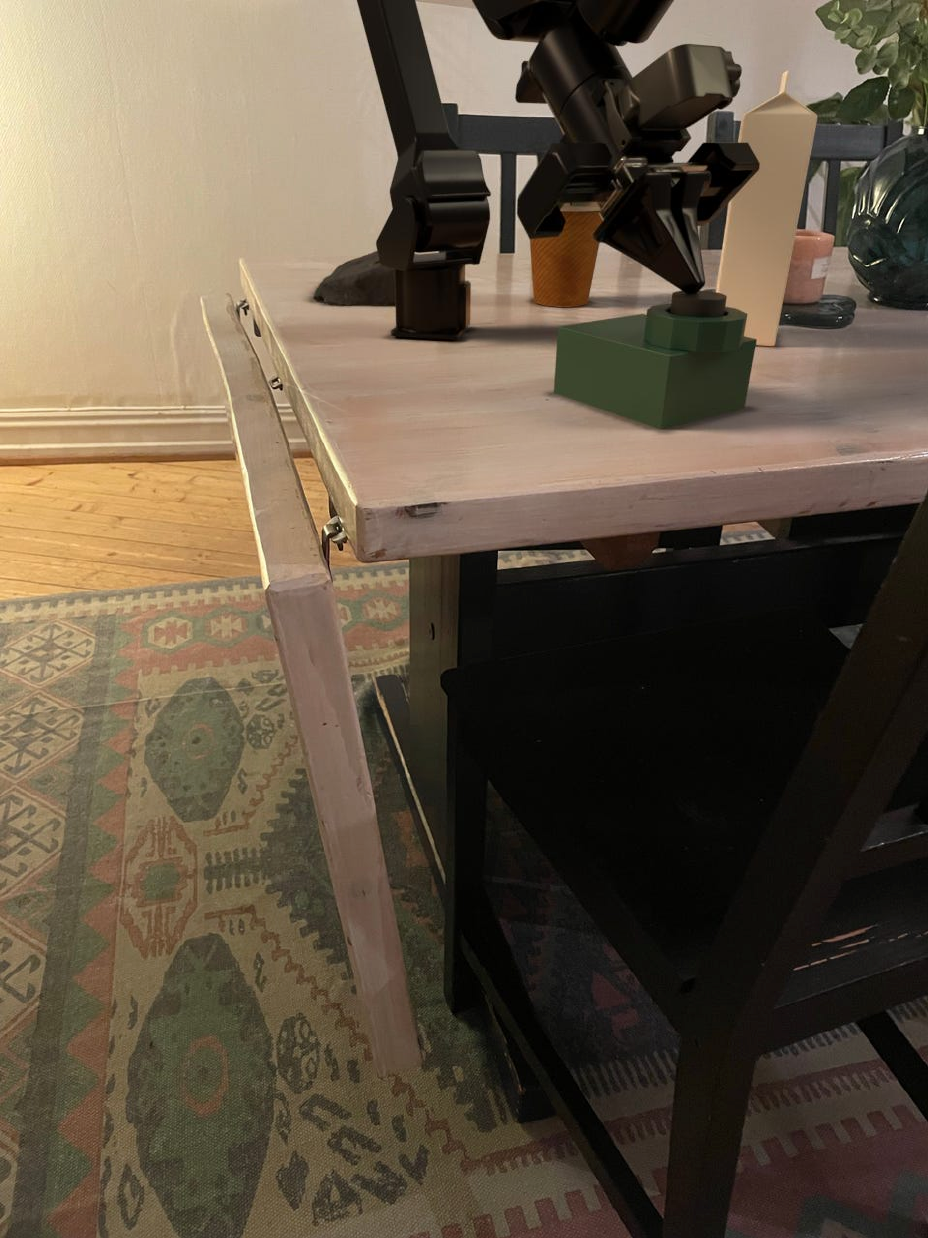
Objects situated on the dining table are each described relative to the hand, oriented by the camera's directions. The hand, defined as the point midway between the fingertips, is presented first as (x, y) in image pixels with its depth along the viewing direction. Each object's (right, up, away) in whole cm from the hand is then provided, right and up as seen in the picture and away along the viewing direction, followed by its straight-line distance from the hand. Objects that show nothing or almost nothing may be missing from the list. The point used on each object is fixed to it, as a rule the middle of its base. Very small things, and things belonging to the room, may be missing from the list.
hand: (697, 289), depth 58 cm
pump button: (0, -2, +1) cm, 2 cm away
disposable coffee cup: (-5, +14, +42) cm, 44 cm away
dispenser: (-2, -6, +6) cm, 9 cm away
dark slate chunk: (-26, +18, +48) cm, 57 cm away
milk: (+11, +5, +26) cm, 29 cm away
